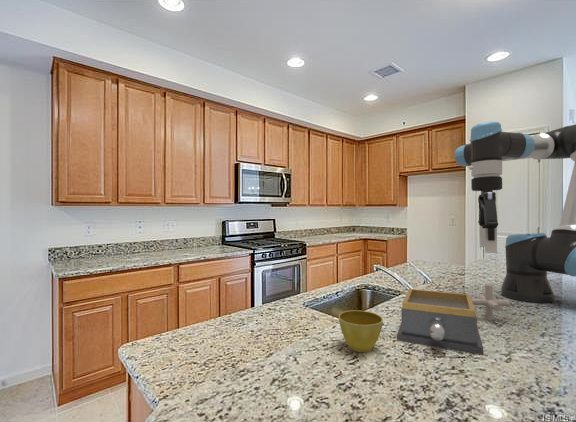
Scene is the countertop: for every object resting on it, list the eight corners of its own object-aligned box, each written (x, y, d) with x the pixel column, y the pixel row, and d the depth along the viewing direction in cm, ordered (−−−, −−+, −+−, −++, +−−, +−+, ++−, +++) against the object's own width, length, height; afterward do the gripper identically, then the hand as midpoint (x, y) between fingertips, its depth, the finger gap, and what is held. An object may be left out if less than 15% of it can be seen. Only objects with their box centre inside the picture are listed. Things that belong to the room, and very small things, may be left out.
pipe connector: (518, 327, 82) (517, 290, 82) (477, 324, 84) (476, 288, 84) (500, 314, 91) (499, 281, 92) (464, 313, 93) (463, 280, 94)
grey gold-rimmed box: (475, 326, 82) (475, 293, 82) (485, 362, 63) (484, 319, 63) (405, 317, 91) (404, 287, 91) (394, 346, 71) (394, 308, 71)
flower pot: (391, 347, 71) (390, 316, 71) (369, 362, 64) (368, 328, 64) (354, 335, 78) (353, 307, 78) (330, 348, 71) (330, 317, 71)
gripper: (468, 181, 101) (469, 245, 100) (475, 172, 79) (476, 254, 78) (495, 180, 97) (496, 246, 97) (510, 170, 75) (512, 256, 75)
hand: (487, 249), depth 88 cm, fingers open, 13 cm apart
